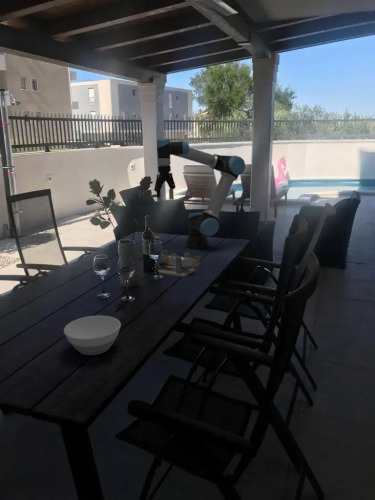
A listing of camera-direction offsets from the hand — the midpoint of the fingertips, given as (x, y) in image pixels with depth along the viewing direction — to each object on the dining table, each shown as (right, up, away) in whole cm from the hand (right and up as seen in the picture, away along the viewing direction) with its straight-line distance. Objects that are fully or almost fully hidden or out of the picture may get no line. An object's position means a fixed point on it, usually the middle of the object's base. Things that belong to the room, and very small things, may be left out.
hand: (165, 201), depth 262 cm
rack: (+10, -38, -10) cm, 41 cm away
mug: (-8, -35, +5) cm, 36 cm away
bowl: (-20, -65, -110) cm, 129 cm away
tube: (+7, -39, -24) cm, 46 cm away
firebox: (+5, -42, -23) cm, 48 cm away
